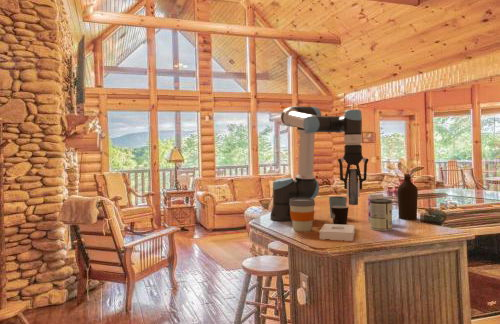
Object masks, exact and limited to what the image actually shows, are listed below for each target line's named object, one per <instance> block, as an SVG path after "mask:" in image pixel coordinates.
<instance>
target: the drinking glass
mask: <svg viewBox="0 0 500 324" xmlns="http://www.w3.org/2000/svg"><path fill="white" fill-rule="evenodd" d="M328 200H329V212H330V213H329V215H330V218H331V219H333V217H332V209H331V207H332V206H347V202H348V201H347V200H348V197H347V196H329V197H328Z"/></svg>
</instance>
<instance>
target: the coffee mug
mask: <svg viewBox="0 0 500 324" xmlns="http://www.w3.org/2000/svg"><path fill="white" fill-rule="evenodd" d="M331 209H332V217H333V218H332V222H333V223H332V224H341V225H348V216H349V215H348V214H349V206H347V205H346V206H332V207H331Z"/></svg>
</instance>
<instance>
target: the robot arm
mask: <svg viewBox="0 0 500 324" xmlns="http://www.w3.org/2000/svg"><path fill="white" fill-rule="evenodd" d="M322 115H323V114H322V112H321V110H320V108H319V107H317V106H311V105H310V106H303V105H301V106H298V105H297V106H296V105H293V106H288V107H286V108H284V110H282V112H281V114H280V120H281V122H282V123H283V125H285V126H287V127H291V128H292V127H293V128H296V130H297V132H298V133H299V141H298V143H299V144H298V146H299V147H298V172H297V174H295V179H294V178H293V177H283V178H278V179H275V180H274V181H273V182H272V202H273V203H272V209H271V212H270V215H269V216H270V220H272V221H280V222H286V221H287V222H289V221H291V222H292V220H291V215H290V210H291V209H290V205H289V203H290V199H293V198H311V199H314V200H315V198H316V197H317V196H318V195H319V192H320V185H319V181H318V179H316V176H315V175H314V159H315V158H314V157H315V133H336V134H337V133H338V134H341V133H344V137H343V138H344V143H343V144H345V145H344V147H343V148H344V149H343V150H344V153H343V154H344V155H343V157H341V158H338V159H337V162H338V164H339V165H338V166H339V180H340V181H342V182H343V185H344V186H343V187H344V188H343V189H344V190H346V197H347V198H349V181H348V180H349V169H351V168H350V167H351V166H355V169H357V172H358V198H360V190H363V182H365V181H367V176H368V175H367V173H368V172H367V171H368V162H369V159H368V158H366V157H364V156H363V152H362V151H363V145H362V141H363V140H362V139H363V136H362V131H363V126H362V125H363V118H362V115H363V114H362V111H361V109H346V110H345V111H344V113H343V116H342V115H341V116H339V115H338V116H336V115H333V116H331V115H326V116H324V115H323V116H322ZM344 161H345V162H346V166H347V167H346V171H345V174H344V170H343V169H344V168H343V163H344ZM361 161H362V162H363V178H362V174H361V169H360V163H362V162H361Z"/></svg>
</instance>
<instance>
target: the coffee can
mask: <svg viewBox="0 0 500 324" xmlns="http://www.w3.org/2000/svg"><path fill="white" fill-rule="evenodd" d="M370 221H371V222H370ZM370 221H369V222H370V229H371V230H374V231H379V232H380V231H383V232H386V231H387V232H388V231H392V230H393V200H392V199H389V198H388V199H387V198H384V199H372V200H370Z"/></svg>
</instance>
